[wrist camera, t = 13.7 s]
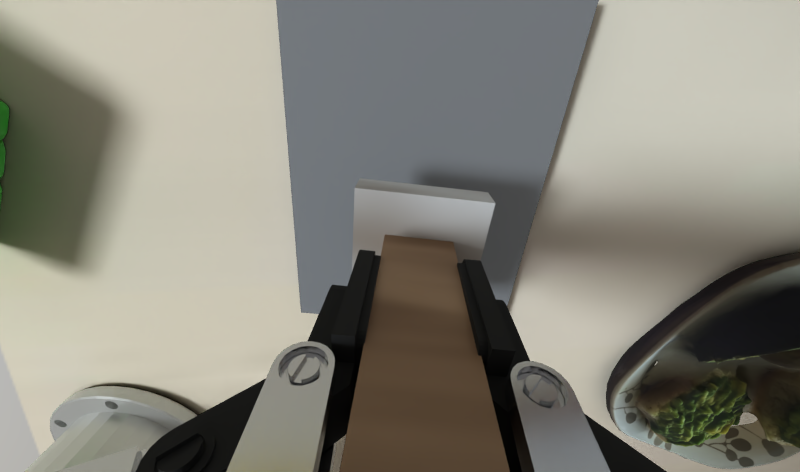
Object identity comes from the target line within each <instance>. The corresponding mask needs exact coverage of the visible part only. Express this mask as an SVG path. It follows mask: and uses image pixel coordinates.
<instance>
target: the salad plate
mask: <svg viewBox="0 0 800 472" xmlns="http://www.w3.org/2000/svg"><path fill="white" fill-rule="evenodd" d="M656 361H658V363H657V364H656V365H655V363H656ZM606 404H607V409H608V411H609V413H610V416H611V418H612V420H613V422H614V423H615V425H616V426H617V428H618V429H619V430H620V431H622V432H623V433H625V434H626V435H628V436H630V437H632V438H635V439H637V440H640V441H642V442H645V443H648V444H651V445H653V446H656V447H660V448H663V449H665V450H667V451H670V452H674V453H676V454H678V455H680V456H682V457H683V458H686V459H690V460H693V461H695V462H698V463H701V464H704V465H707V466H711V467H714V468H722V469H739V468H748V467H754V466H760V465H765V464H769V463H773V462H776V461H780V460H783V459H785V458H788V457H790V456H792V455H794V454H796V453H798V452H799V451H800V253H794V254H789V255H782V256H777V257H773V258H769V259H765V260H761V261H757V262H754V263H751V264H748V265H746V266H743V267H741V268H738V269H736V270H734V271H732V272H730V273H728V274H726V275H725V276H723V277H721V278H719V279H718V280H716V281H714V282H713V283H711V284H710V285H708V286H707V287H705V288H704V289H702V290H701V291H700V292H698V293H697V294H696V295H694V296H693V297H691V298H690V299H688V300H687V301H685V302H684V303H682V304H681V305H680V306H678V307H677V308H676V309H675V310H674V311H673V312H671V313H670V314H669V315H668V316H667V317H666V318H664V319H663V320H662V321H661V322H659V323H658V324H657V325H656V326H654V327H653V328H652V329H651V330H650V331H648V332H647V333H646V334H645V335H643V336H642V337H641V338H640V339H639V340H638V341H636V342H635V343H634V344H633V345H632V346H631V347H630V348H629V349H628V350H627V351H626V352H625V354H624V355H623V356H622V357H621V359H620V360H619V362H618V363H617V365H616V366H615V368H614V370H613V371H612V374H611V376H610V378H609V381H608V383H607V391H606ZM743 412H749V413H751V414H753V415H755V416H756V417H757V419H758V420H757V421H756V422H754V423H750V424H745V425H739V426H731V425H738V424H739V420H740V416H741V415H742V413H743ZM730 426H731V427H730Z"/></svg>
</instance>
